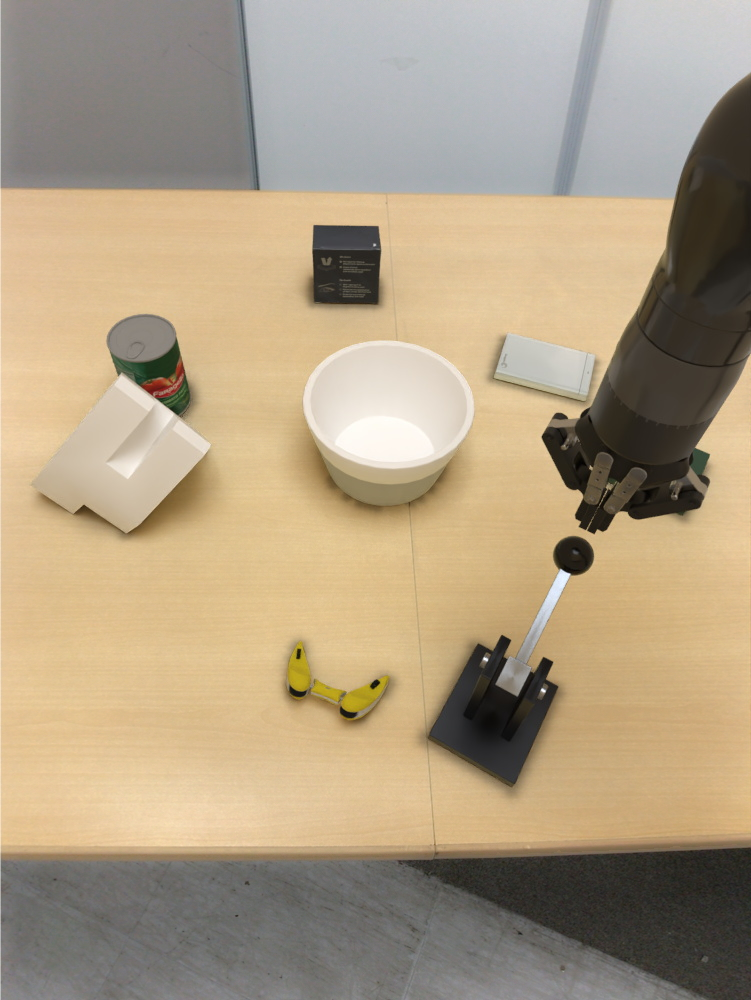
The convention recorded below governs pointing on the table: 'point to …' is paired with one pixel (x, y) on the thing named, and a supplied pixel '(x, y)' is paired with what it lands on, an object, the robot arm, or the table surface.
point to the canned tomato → (151, 358)
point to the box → (346, 263)
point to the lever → (547, 608)
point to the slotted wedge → (122, 457)
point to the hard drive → (545, 366)
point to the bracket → (494, 714)
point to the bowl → (387, 418)
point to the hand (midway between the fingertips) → (590, 523)
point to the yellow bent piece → (351, 703)
